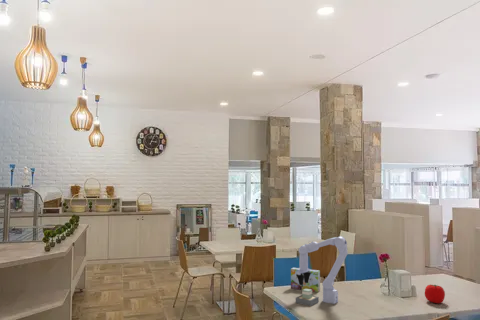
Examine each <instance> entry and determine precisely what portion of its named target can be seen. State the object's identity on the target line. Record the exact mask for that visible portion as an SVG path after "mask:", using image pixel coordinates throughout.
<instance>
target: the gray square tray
mask: <svg viewBox="0 0 480 320" xmlns="http://www.w3.org/2000/svg"><path fill="white" fill-rule="evenodd" d="M301 296H302V294H300V295H298V296H297V297H295V304H300V305H305V306H309V307H310V306H311V307H312V306H314V305H316V304H317V303H319V300H320V299H319V296H317V295H316V296H315V295H312V297H316V298H314V299H312V300H306V299H301V298H299V297H301Z"/></svg>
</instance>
